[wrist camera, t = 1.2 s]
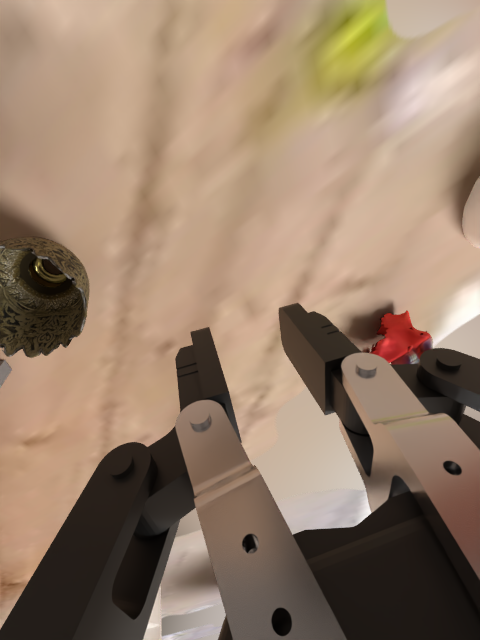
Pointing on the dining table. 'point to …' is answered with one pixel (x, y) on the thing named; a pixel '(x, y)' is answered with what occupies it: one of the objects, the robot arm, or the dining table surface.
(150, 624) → the cylinder with rectangular tab
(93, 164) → the dining table surface
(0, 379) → the box
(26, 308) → the cup
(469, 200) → the teardrop
